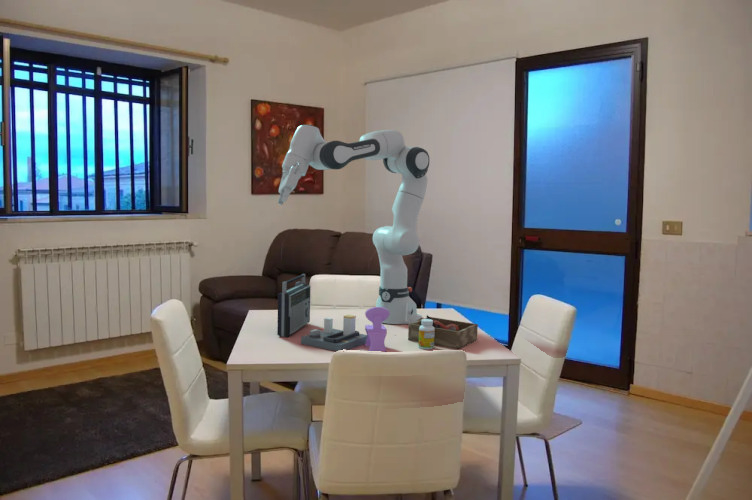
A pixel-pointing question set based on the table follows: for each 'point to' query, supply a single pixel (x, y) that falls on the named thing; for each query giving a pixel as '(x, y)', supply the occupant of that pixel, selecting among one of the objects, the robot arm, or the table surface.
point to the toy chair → (376, 328)
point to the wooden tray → (447, 333)
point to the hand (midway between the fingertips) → (281, 202)
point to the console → (333, 338)
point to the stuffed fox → (442, 326)
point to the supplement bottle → (426, 334)
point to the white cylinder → (349, 324)
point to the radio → (293, 307)
